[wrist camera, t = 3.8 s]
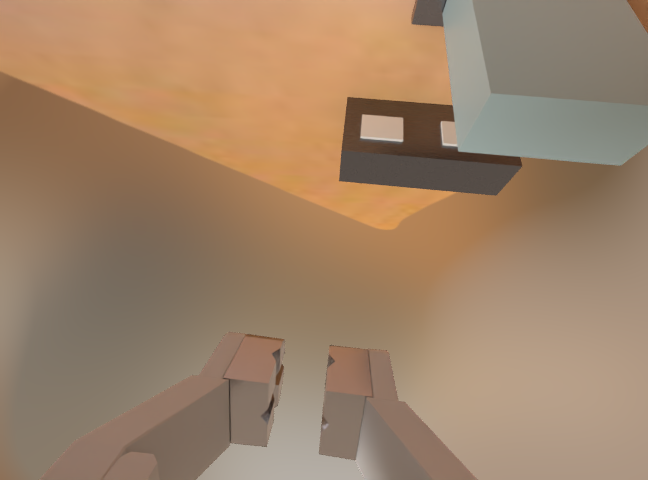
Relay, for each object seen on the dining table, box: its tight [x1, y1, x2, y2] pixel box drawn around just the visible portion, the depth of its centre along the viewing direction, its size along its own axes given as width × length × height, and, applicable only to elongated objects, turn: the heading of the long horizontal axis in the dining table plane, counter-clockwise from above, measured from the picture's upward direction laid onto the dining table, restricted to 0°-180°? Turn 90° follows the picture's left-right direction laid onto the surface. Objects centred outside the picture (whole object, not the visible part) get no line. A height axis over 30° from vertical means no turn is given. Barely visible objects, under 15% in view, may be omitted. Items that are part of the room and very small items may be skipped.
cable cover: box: [442, 0, 648, 165], centre depth 20 cm, size 4×10×15 cm, turn 90°
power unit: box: [339, 97, 522, 195], centre depth 34 cm, size 5×18×8 cm, turn 90°
